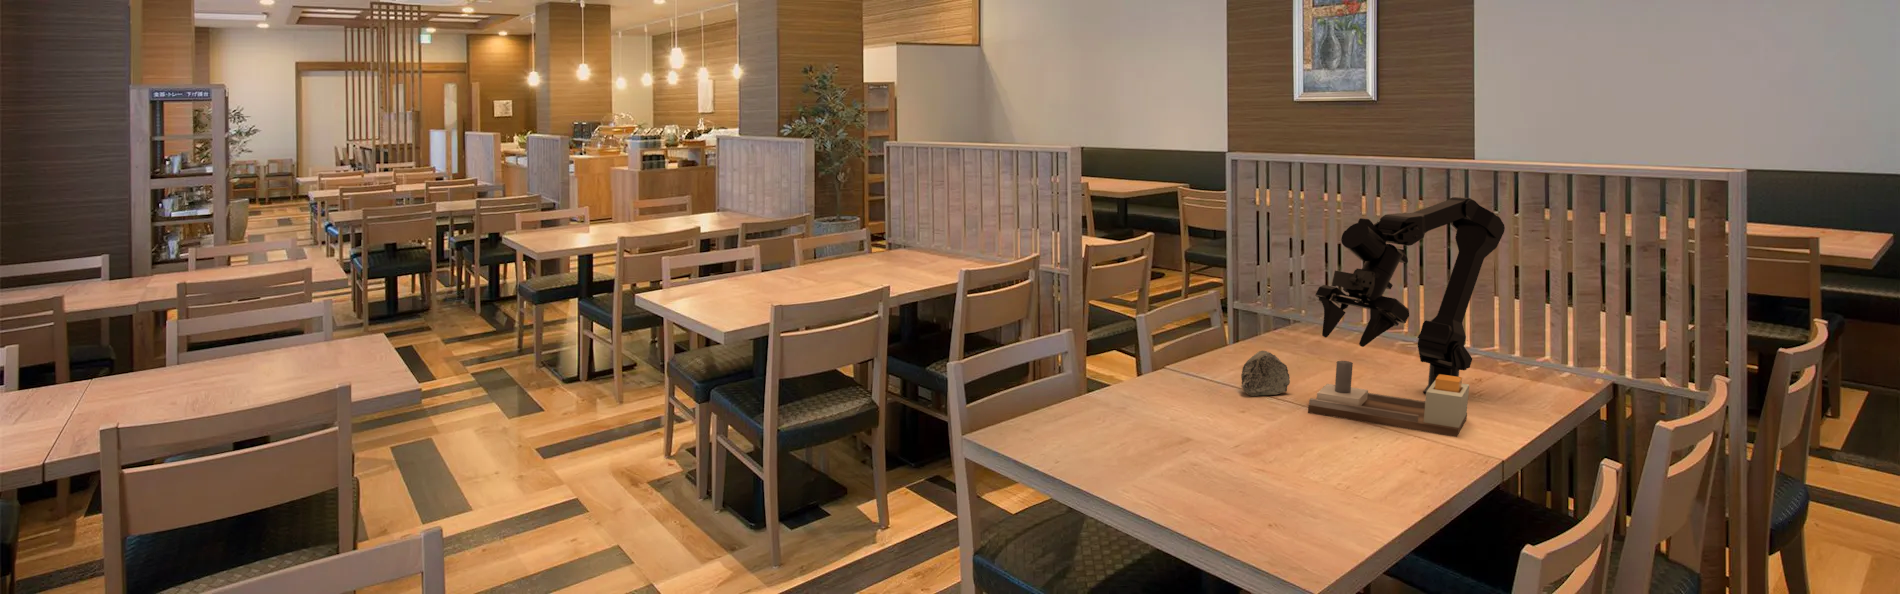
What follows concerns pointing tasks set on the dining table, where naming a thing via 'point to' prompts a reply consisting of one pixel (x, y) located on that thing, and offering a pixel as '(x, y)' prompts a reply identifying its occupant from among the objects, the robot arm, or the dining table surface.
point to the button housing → (1446, 406)
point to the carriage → (1343, 387)
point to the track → (1384, 413)
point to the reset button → (1448, 383)
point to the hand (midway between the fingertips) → (1342, 341)
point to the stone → (1264, 375)
